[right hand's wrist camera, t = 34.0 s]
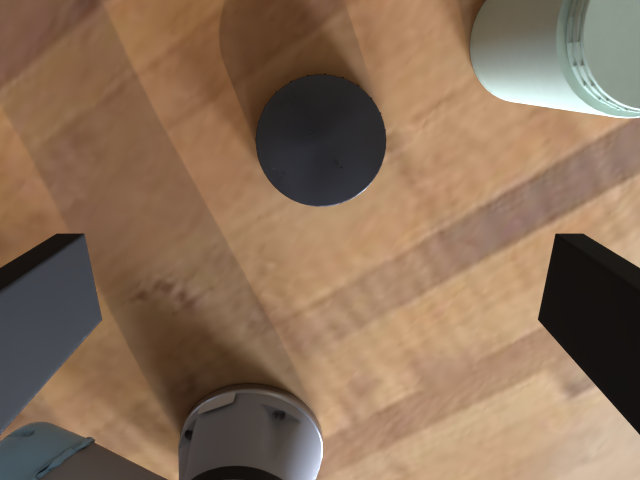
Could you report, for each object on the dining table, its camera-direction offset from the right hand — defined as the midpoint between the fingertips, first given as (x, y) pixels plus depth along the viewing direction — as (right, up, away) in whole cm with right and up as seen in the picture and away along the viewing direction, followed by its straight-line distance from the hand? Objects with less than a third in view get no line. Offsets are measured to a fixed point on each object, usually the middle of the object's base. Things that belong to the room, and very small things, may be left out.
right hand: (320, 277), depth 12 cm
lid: (0, +9, +23) cm, 24 cm away
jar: (+16, +17, +21) cm, 32 cm away
